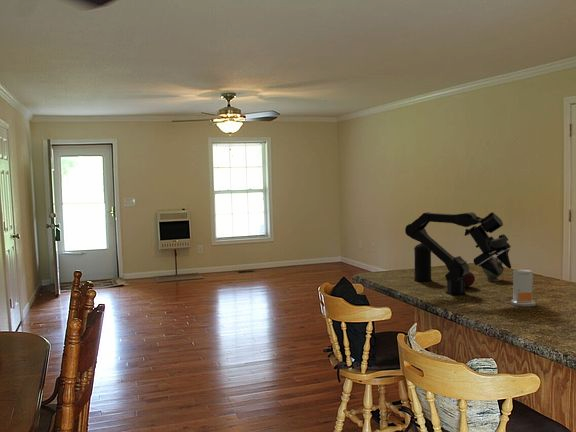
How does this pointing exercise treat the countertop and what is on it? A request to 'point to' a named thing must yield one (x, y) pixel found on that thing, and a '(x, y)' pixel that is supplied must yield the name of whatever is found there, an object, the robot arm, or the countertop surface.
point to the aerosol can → (422, 263)
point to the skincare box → (522, 285)
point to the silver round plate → (523, 303)
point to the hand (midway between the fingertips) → (504, 271)
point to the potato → (469, 279)
